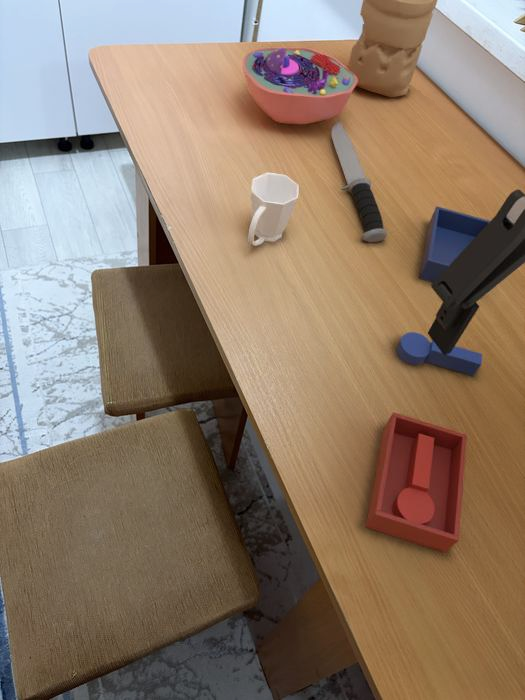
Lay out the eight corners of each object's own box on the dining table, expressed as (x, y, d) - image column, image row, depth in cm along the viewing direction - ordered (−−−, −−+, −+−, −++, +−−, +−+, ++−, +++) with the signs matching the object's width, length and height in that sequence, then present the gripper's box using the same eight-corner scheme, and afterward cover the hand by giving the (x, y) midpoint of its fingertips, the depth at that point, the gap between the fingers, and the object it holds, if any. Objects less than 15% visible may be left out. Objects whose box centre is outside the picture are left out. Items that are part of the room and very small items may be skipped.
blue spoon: (474, 359, 77) (482, 347, 75) (472, 383, 74) (481, 371, 72) (398, 336, 77) (404, 324, 75) (394, 359, 75) (400, 347, 73)
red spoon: (402, 440, 67) (409, 430, 65) (436, 451, 67) (444, 440, 65) (389, 523, 61) (397, 514, 59) (427, 534, 61) (435, 526, 59)
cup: (299, 227, 88) (308, 183, 82) (269, 267, 82) (277, 223, 76) (258, 210, 89) (264, 165, 83) (226, 248, 84) (230, 203, 77)
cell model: (343, 152, 101) (359, 90, 92) (229, 130, 101) (234, 66, 92) (350, 100, 111) (364, 40, 102) (246, 81, 111) (252, 18, 102)
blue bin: (477, 294, 84) (487, 277, 81) (419, 278, 84) (427, 260, 82) (481, 239, 91) (491, 221, 88) (428, 224, 92) (436, 206, 89)
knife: (358, 247, 88) (390, 242, 88) (360, 233, 86) (393, 228, 86) (316, 129, 104) (344, 126, 105) (317, 115, 102) (345, 111, 102)
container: (377, 64, 121) (404, -33, 107) (419, 94, 116) (453, -4, 101) (331, 77, 116) (353, -23, 101) (373, 109, 110) (402, 8, 96)
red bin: (445, 552, 61) (458, 540, 58) (365, 527, 61) (375, 514, 58) (454, 449, 68) (467, 434, 65) (383, 428, 69) (392, 412, 66)
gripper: (527, 194, 33) (410, 393, 50) (792, 129, 42) (614, 319, 58) (451, 120, 37) (366, 328, 54) (707, 74, 45) (564, 267, 62)
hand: (495, 324), depth 56 cm, fingers open, 13 cm apart
